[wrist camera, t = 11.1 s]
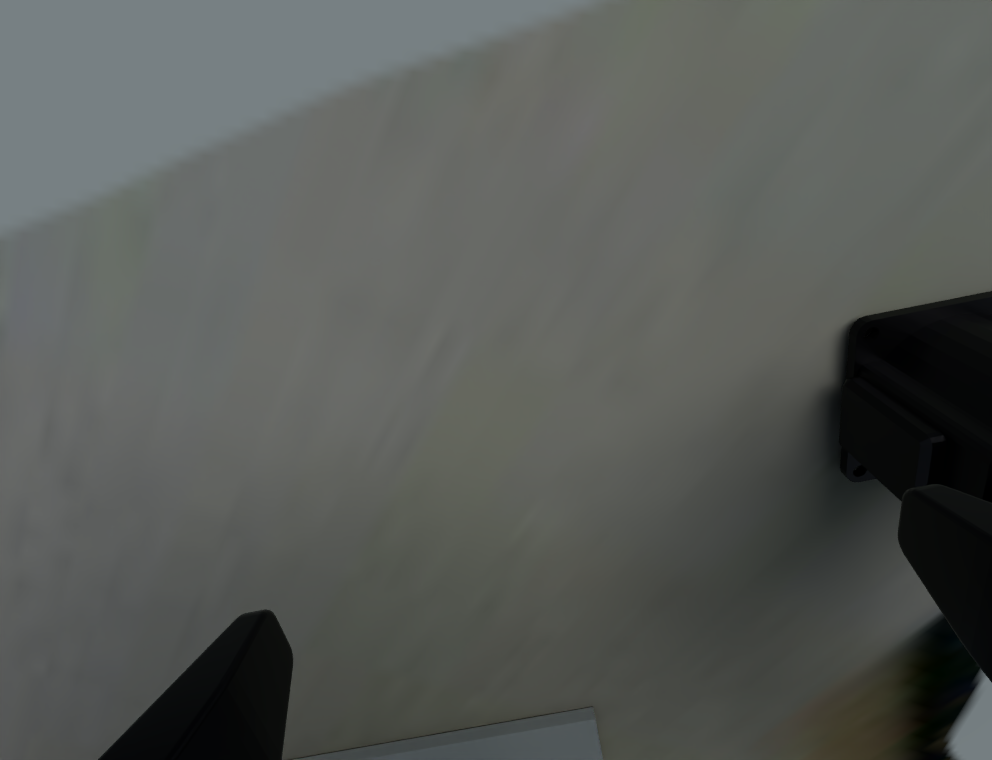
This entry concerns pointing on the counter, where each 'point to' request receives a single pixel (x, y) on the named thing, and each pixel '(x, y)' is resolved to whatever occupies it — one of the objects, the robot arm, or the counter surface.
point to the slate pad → (495, 742)
